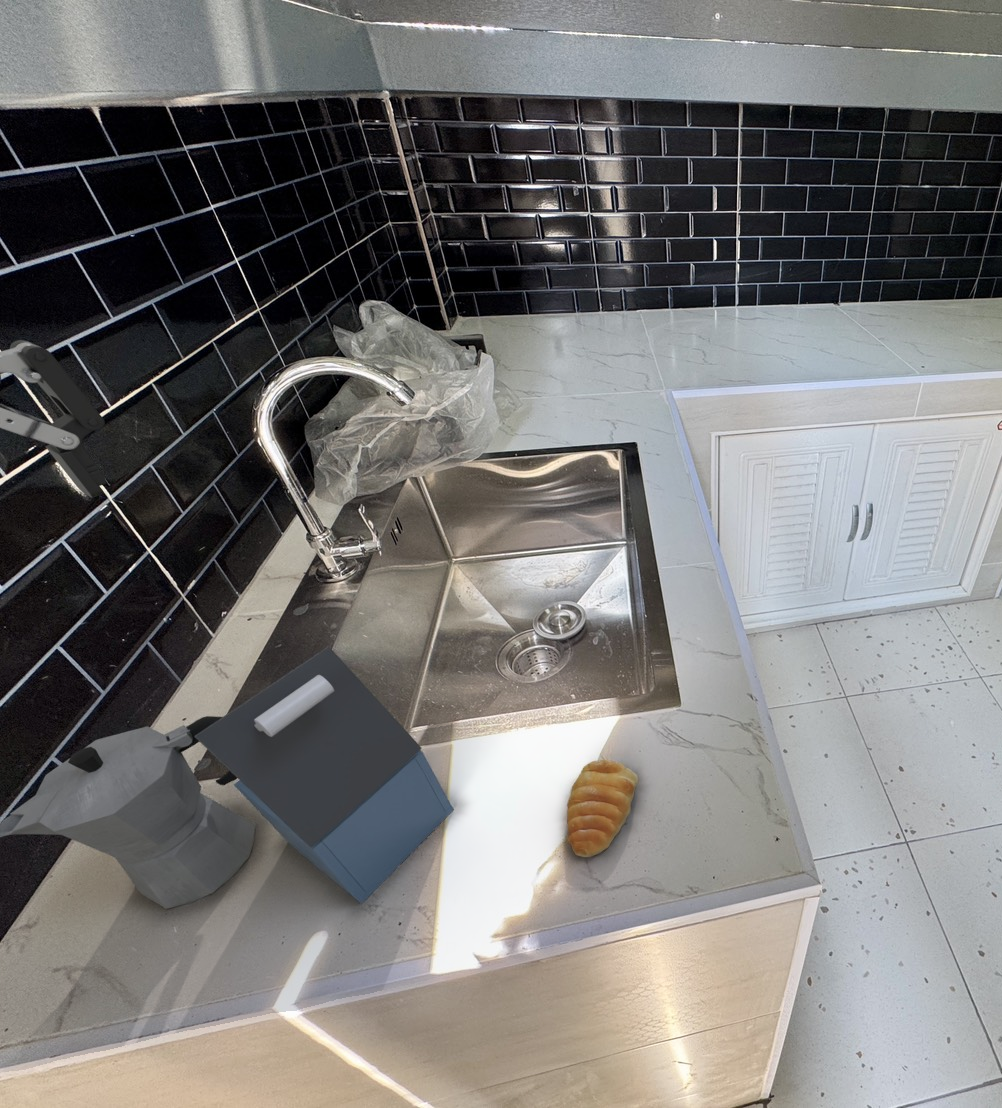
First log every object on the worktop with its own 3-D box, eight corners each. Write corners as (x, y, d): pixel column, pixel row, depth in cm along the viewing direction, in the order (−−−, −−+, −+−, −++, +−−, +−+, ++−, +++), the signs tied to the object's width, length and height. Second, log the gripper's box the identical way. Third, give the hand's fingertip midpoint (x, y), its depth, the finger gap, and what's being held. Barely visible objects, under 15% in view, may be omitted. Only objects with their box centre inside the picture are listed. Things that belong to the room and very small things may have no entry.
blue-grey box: (287, 842, 60) (233, 784, 54) (382, 760, 68) (344, 700, 61) (361, 904, 56) (312, 849, 49) (454, 809, 63) (422, 751, 57)
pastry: (620, 864, 59) (615, 846, 57) (553, 857, 60) (546, 838, 57) (641, 777, 67) (638, 758, 64) (581, 772, 67) (576, 752, 65)
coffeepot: (124, 952, 53) (-38, 857, 41) (108, 873, 58) (-41, 769, 46) (317, 829, 61) (226, 723, 50) (288, 770, 66) (199, 661, 55)
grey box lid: (193, 736, 46) (200, 734, 42) (326, 647, 53) (342, 638, 49) (309, 846, 49) (325, 854, 45) (419, 748, 57) (441, 747, 53)
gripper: (-50, 235, 37) (114, 463, 48) (-481, 290, 28) (-158, 561, 38) (0, 251, 35) (164, 489, 45) (-458, 318, 25) (-116, 603, 35)
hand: (16, 522), depth 41 cm, fingers open, 8 cm apart
